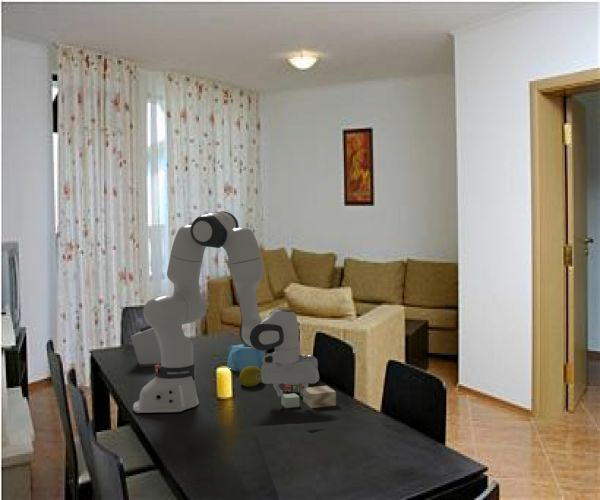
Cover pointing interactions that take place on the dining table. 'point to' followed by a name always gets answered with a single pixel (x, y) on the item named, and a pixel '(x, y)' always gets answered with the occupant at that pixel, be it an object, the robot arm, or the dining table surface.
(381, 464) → the dining table surface
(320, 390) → the birch base block
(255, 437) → the dining table surface
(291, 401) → the sage cube
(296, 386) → the cardboard box
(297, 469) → the dining table surface
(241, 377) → the lemon
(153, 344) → the alarm clock
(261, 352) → the decorative pot
